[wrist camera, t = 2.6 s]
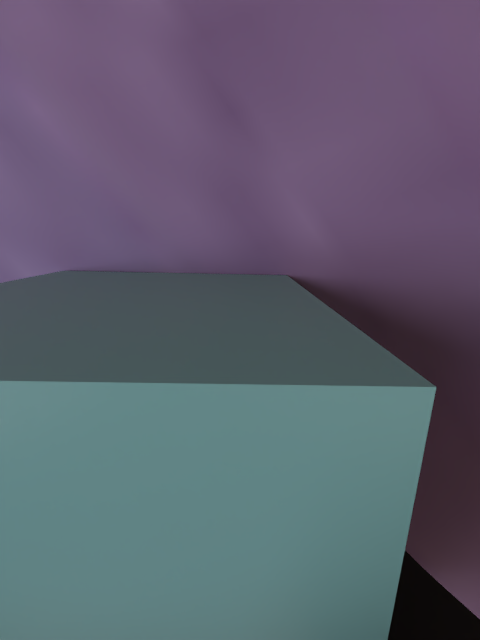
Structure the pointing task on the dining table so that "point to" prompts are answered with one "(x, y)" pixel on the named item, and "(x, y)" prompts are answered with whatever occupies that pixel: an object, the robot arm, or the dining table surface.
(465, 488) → the dining table surface
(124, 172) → the dining table surface
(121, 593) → the teal rectangular box
